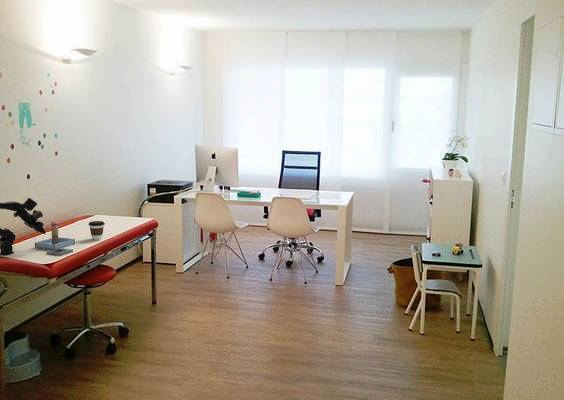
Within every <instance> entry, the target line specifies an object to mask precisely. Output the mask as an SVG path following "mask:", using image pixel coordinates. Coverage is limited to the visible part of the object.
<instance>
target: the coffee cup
mask: <svg viewBox="0 0 564 400" xmlns="http://www.w3.org/2000/svg"><path fill="white" fill-rule="evenodd" d="M105 225H106V223H105V222H104V221H102V220H94V221H89V222H88V226H89V230H90V231H89V232H90V235H91V239H92V240H93V239H94V240H93V241H95V240H96V241H98V239H100V240H102V239H103V234H104V226H105ZM101 238H102V239H101Z"/></svg>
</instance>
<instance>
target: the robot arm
mask: <svg viewBox="0 0 564 400" xmlns="http://www.w3.org/2000/svg"><path fill="white" fill-rule="evenodd" d="M37 205H38V203H37V202H36V201H35V200H33V198H31V197H28V198H27V199H26V200H25V201H24V202H23V203H20V202H17V201H13V200H12V201H6V202H0V210H7V211H14V212H13V215H12V216H13V217H14V218H17V217H18V218H20V219H21V221H22V222H23V224H24V225H25V226H26V227H28V228H30V229H32V230H34V231H36V232H38V233H41V234H43V235H46V234H47V233H46V230H45V228H44V223H43V222H42V221H40V220H39V221H38V219H40V218H43V217H44V214H43V212H42V211H41V210H36V209H35V208H36V207H37ZM29 211H30V212H32V213H30V212H29ZM14 241H16V234H15V233H14V231H11V230H10V229H8V228H6V227H4V228H1V227H0V255H3V256H8V255H9V256H10V255H12V254H15V252H14V251H13V244H14Z"/></svg>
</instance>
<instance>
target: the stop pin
mask: <svg viewBox="0 0 564 400" xmlns="http://www.w3.org/2000/svg"><path fill="white" fill-rule="evenodd" d="M50 226H51V238H52V244H53V245H54V244H58V237H59V226H60V225H59V222H58V221H51V222H50Z"/></svg>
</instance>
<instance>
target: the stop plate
mask: <svg viewBox="0 0 564 400" xmlns="http://www.w3.org/2000/svg"><path fill="white" fill-rule="evenodd" d="M71 253H74V249H71V248H65V247H63V248H57V249H54V250H47V251H46V255H51V256H59V257H61V256H65V255H68V254H71Z"/></svg>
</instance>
